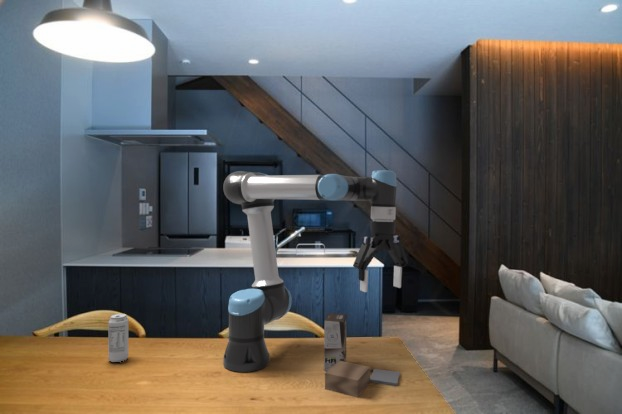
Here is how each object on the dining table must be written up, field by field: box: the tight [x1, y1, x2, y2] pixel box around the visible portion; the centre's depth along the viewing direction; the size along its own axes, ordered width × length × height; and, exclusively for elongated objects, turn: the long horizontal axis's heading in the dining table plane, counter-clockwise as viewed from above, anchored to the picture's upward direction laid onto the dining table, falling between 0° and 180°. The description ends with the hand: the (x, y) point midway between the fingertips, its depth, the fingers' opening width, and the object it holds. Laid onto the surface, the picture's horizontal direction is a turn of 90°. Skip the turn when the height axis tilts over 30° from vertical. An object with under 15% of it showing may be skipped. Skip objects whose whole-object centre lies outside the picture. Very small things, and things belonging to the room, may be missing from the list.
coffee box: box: [323, 312, 347, 372], centre depth 129 cm, size 9×6×16 cm
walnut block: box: [324, 361, 371, 398], centre depth 115 cm, size 10×10×5 cm
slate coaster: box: [370, 368, 401, 387], centre depth 120 cm, size 8×8×1 cm
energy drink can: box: [107, 313, 129, 363], centre depth 133 cm, size 6×6×15 cm
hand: (380, 289), depth 123 cm, fingers open, 13 cm apart
